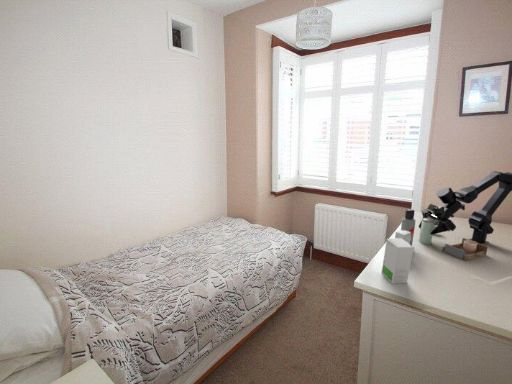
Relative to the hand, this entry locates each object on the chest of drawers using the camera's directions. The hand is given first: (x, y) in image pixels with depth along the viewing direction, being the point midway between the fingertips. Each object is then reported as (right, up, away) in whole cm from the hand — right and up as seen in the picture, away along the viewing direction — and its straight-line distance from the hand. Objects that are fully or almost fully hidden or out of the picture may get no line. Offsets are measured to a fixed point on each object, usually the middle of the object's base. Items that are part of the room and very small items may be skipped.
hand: (424, 230), depth 140 cm
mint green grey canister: (+1, -7, +2) cm, 7 cm away
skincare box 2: (-31, -15, -30) cm, 46 cm away
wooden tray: (+12, -10, -10) cm, 18 cm away
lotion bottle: (-12, -8, -3) cm, 15 cm away
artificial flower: (+16, -3, +19) cm, 25 cm away
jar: (+15, -9, -9) cm, 20 cm away
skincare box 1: (-19, -11, -12) cm, 25 cm away
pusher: (+5, -9, -13) cm, 17 cm away
